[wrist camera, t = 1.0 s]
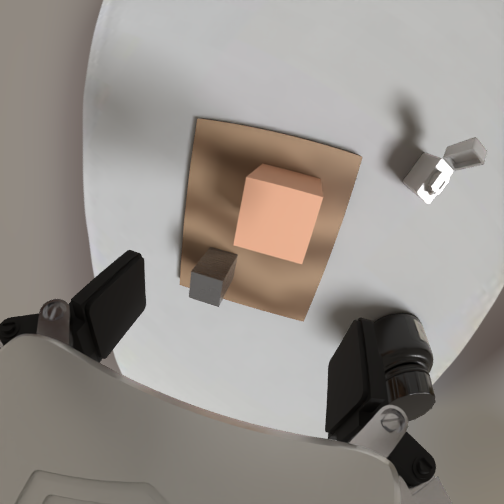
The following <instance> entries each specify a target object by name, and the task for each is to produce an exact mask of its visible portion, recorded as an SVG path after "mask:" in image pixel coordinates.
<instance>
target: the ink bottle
mask: <svg viewBox="0 0 504 504" xmlns="http://www.w3.org/2000/svg"><path fill="white" fill-rule="evenodd" d="M373 324H374V329H375V335H376V340H377V346H378V351H379V353H380V354H381V356H382V360H383V366H384V372H385V379H386V386H387V394H388V402H389V405H394V406H397V407H399V408H400V409H402V410H403V411H404V412H405V414H406V416H407V418H408V421H411V420H414V419H416V418H418V417H420V416H422V415H424V414H425V413H426V412H428V411H429V410H430V409H431V408H432V406H433V405H434V403H435V394H434V390H433V386H432V382H431V378H430V375H429V372H430V371H431V368H432V365H433V354H432V351H431V348H430V345H429V342H428V339H427V337H426V334H425V331H424V328H423V326H422V324H421V322H420V320H419V319H418V318H416V317H415V316H413V315H409V314H392V315H388V316H385V317H383V318H381V319H379V320H377V321H376V322H374V323H373Z"/></svg>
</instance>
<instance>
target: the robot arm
mask: <svg viewBox="0 0 504 504" xmlns="http://www.w3.org/2000/svg"><path fill="white" fill-rule="evenodd" d="M145 307H146V295H145V272H144V258H142V256H141V254H140V253H137V252H134V251H132V250H128V251H126V252H125V253H124V254H123V255H122V256H120V257H119V258H118V259H117V260H115V261H114V262H113V263H112V264H111V265H109V266H108V267H107V268H106V269H105V270H104V271H102V272H101V273H100V274H99V275H98V276H97V277H95V278H94V279H93V280H92V281H91V282H90V283H89V284H87V285H86V286H85V287H84V288H83V289H82V290H81V291H80V292H79V293H77V294H76V295H75V296H74V297H73V298H72V299H71V302H70V303H69V304H68V303H67V302H66V301H64V300H61V299H53V300H50V301H48V302H46V303H45V304H43V306H42V307H41V309H40V312H39V314H32V315H25V316H18V317H11V318H7V319H5V320H4V321H3V322H2V323H1V324H0V504H452V502H451V500H450V498H449V496H448V494H447V492H446V490H445V488H444V486H443V485H442V483H441V481H440V479H439V477H436V478H435V476H434V473H435V469H436V464H435V461H434V458H433V457H432V456H431V455H430V454H429V453H428V452H427V451H426V450H425V449H424V448H423V447H422V446H421V445H420V444H419V443H418V442H417V441H416V440H415V439H414V438H413V437H412V436H411V435H409V434H408V433H407V432H406V431H407V428H408V418H407V416H406V414H405V412H404V411H403V410H402V409H400V408H399V407H397V406H394V405H389V402H388V394H387V386H386V379H385V372H384V366H383V360H382V356H381V354H380V353H379V351H378V346H377V340H376V335H375V329H374V324H373V321H372V320H368V319H363V318H359V319H358V320H354V321H353V323H352V324H351V326H350V328H349V330H348V331H347V333H346V335H345V337H344V338H343V340H342V342H341V343H340V345H339V347H338V348H337V350H336V352H335V353H334V355H333V357H332V358H331V360H330V362H329V366H328V390H327V410H326V425H325V431H326V432H329V433H328V439H324V438H317V437H311V436H306V435H301V434H295V433H291V432H286V431H281V430H276V429H272V428H267V427H263V426H259V425H255V424H251V423H248V422H244V421H240V420H237V419H233V418H230V417H227V416H223V415H220V414H217V413H214V412H211V411H208V410H205V409H202V408H199V407H196V406H194V405H191V404H188V403H186V402H183V401H180V400H178V399H175V398H173V397H170V396H168V395H165V394H163V393H161V392H158V391H156V390H154V389H151V388H149V387H147V386H145V385H142V384H140V383H138V382H136V381H134V380H132V379H130V378H128V377H126V376H124V375H122V374H120V373H117V372H116V371H114V370H112V369H110V368H108V367H106V366H104V365H102V364H101V363H100V361H101V360H102V359H105V358H107V356H108V355H109V354H110V353H111V351H112V350H113V349H114V347H115V346H116V345H117V344H118V342H119V341H120V340H121V338H122V337H123V336H124V335H125V333H126V332H127V331H128V330H129V328H130V327H131V326H132V325H133V323H134V322H135V321H136V320H137V318H138V317H139V316H140V315H141V313H142V312H143V311H144V309H145ZM329 439H331V440H329ZM335 440H337V441H335Z"/></svg>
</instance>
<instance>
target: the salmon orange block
mask: <svg viewBox="0 0 504 504" xmlns="http://www.w3.org/2000/svg"><path fill="white" fill-rule="evenodd" d="M322 200H323V192H322V184H321V179H319V178H316V177H312V176H309V175H305V174H302V173H298V172H294V171H290V170H286V169H283V168H279V167H275V166H271V165H266V164H262V165H260V166H259V167H258V168H257V169H255V170H254V171H253V172H252V173H251V174H249V175H248V176H247V177H246V181H245V186H244V191H243V196H242V202H241V207H240V212H239V217H238V223H237V228H236V233H235V239H234V244H233V245H234V246H238V247H241V248H245V249H249V250H252V251H256V252H259V253H263V254H266V255H270V256H274V257H277V258H281V259H284V260H288V261H291V262H295V263H299V264H302V263H303V260H304V257H305V254H306V251H307V248H308V245H309V242H310V239H311V236H312V232H313V229H314V226H315V223H316V220H317V216H318V213H319V210H320V206H321V203H322Z"/></svg>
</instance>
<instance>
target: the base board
mask: <svg viewBox="0 0 504 504" xmlns="http://www.w3.org/2000/svg"><path fill="white" fill-rule="evenodd" d="M361 160H362V157H361V156H360V155H357V154H354V153H351V152H348V151H345V150H341V149H338V148H335V147H332V146H328V145H325V144H321V143H318V142H314V141H311V140H307V139H303V138H299V137H295V136H291V135H287V134H283V133H279V132H274V131H270V130H265V129H260V128H255V127H250V126H245V125H240V124H234V123H228V122H222V121H215V120H208V119H197V124H196V130H195V136H194V143H193V150H192V157H191V164H190V172H189V180H188V189H187V198H186V207H185V217H184V229H183V241H182V255H181V271H180V285H182V286H185V287H188V288H190V277H191V271H192V269H193V268H194V267H195V266H196V264H197V263H198V262H199V260H200V259H201V258H202V257H203V255H204V254H205V253H206V252H207V250H208V249H209V248H210V247H213V248H217V249H220V250H224V251H227V252H231V253H234V254H238V257H237V262H236V267H235V272H234V277H233V280H232V282H231V284H230V286H229V288H228V290H227V292H226V294H225V296H224V298H223V299H226V300H229V301H232V302H236V303H239V304H242V305H246V306H249V307H253V308H256V309H259V310H263V311H266V312H270V313H274V314H277V315H281V316H285V317H288V318H292V319H296V320H299V321H304V319H305V317H306V314H307V312H308V310H309V307H310V305H311V302H312V300H313V298H314V295H315V293H316V290H317V288H318V285H319V283H320V280H321V278H322V275H323V273H324V270H325V267H326V265H327V262H328V259H329V257H330V254H331V251H332V249H333V246H334V243H335V240H336V238H337V235H338V232H339V229H340V226H341V223H342V220H343V218H344V215H345V212H346V209H347V206H348V203H349V199H350V196H351V193H352V190H353V187H354V184H355V180H356V177H357V174H358V170H359V167H360V164H361ZM262 164H266V165H271V166H275V167H279V168H283V169H286V170H290V171H294V172H298V173H302V174H305V175H309V176H312V177H316V178H319V179H321V184H322V192H323V200H322V203H321V206H320V210H319V213H318V216H317V220H316V223H315V226H314V229H313V232H312V236H311V239H310V242H309V245H308V248H307V251H306V254H305V257H304V260H303V263H302V264H299V263H295V262H291V261H288V260H284V259H281V258H277V257H274V256H270V255H266V254H263V253H259V252H256V251H252V250H249V249H245V248H241V247H238V246H234V245H233V244H234V239H235V233H236V228H237V223H238V217H239V212H240V207H241V202H242V196H243V191H244V186H245V181H246V177H247V176H248V175H249V174H251V173H252V172H253V171H254V170H255V169H257V168H258V167H259V166H260V165H262Z"/></svg>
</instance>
